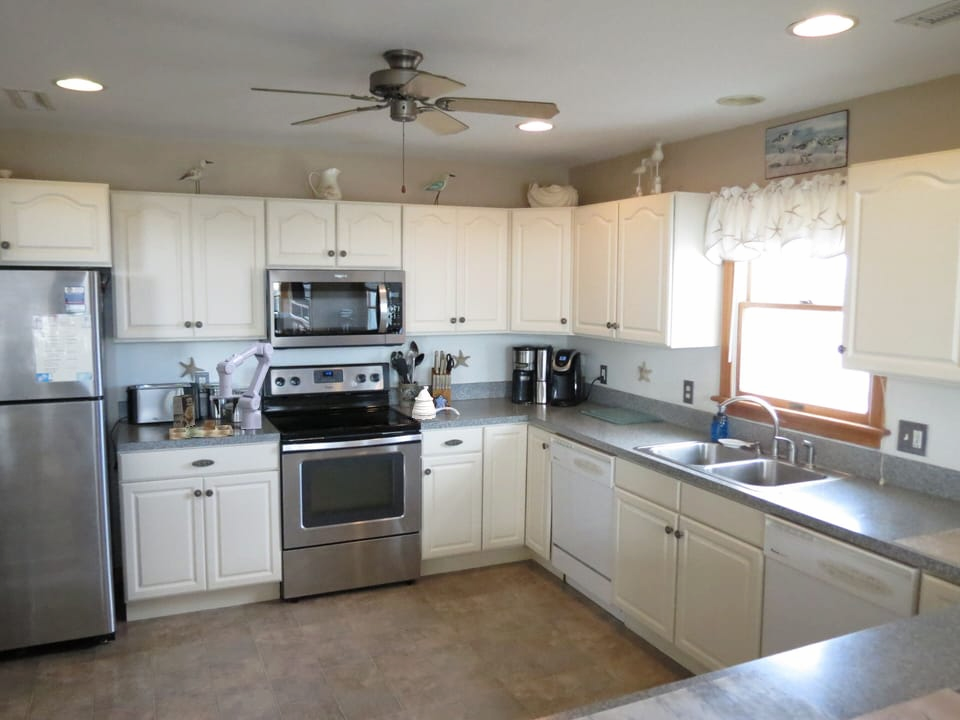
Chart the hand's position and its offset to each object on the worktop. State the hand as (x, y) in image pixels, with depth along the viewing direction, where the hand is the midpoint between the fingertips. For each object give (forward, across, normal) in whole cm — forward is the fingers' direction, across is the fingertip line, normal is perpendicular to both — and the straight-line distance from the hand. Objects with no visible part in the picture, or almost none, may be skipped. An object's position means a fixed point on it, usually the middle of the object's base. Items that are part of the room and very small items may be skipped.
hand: (226, 414), depth 357 cm
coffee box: (+10, -18, +21) cm, 30 cm away
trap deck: (+9, -12, 0) cm, 15 cm away
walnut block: (+7, -8, 0) cm, 10 cm away
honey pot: (+10, +102, +4) cm, 103 cm away
